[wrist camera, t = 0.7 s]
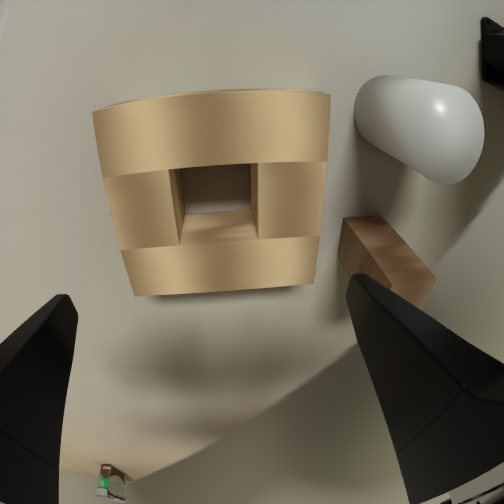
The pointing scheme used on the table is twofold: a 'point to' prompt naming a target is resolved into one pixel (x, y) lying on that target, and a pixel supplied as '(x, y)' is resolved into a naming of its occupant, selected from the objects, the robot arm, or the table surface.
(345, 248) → the square peg
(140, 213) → the socket block
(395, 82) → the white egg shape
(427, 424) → the robot arm
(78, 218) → the table surface
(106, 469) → the food container
